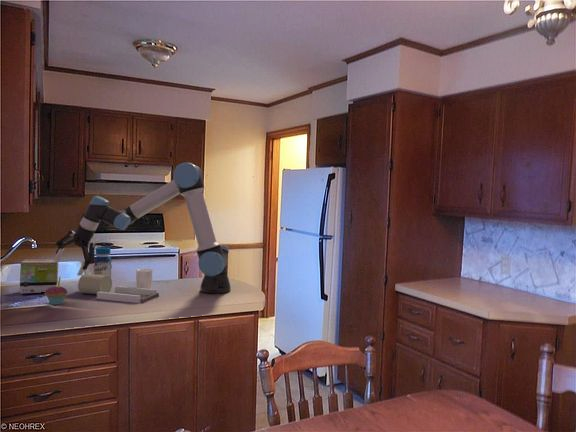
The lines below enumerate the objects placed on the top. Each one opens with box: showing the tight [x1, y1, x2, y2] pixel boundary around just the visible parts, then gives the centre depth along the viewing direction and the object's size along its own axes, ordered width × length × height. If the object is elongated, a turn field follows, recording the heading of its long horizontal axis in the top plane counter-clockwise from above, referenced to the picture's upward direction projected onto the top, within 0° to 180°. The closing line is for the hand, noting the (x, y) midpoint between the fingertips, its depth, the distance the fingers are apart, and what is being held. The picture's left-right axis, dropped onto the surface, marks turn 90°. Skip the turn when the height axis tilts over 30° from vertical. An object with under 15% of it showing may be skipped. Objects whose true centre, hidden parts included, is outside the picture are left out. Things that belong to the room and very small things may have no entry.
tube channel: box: [96, 285, 157, 304], centre depth 197 cm, size 21×15×3 cm
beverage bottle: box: [93, 246, 113, 278], centre depth 215 cm, size 8×8×20 cm
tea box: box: [19, 258, 59, 295], centre depth 202 cm, size 15×10×15 cm
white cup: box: [135, 268, 154, 289], centre depth 212 cm, size 8×8×10 cm
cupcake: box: [44, 277, 68, 306], centre depth 181 cm, size 9×8×12 cm
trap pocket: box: [140, 292, 160, 304], centre depth 195 cm, size 6×14×2 cm, turn 168°
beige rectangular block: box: [77, 273, 113, 295], centre depth 200 cm, size 9×9×12 cm
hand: (67, 268), depth 199 cm, fingers open, 13 cm apart
